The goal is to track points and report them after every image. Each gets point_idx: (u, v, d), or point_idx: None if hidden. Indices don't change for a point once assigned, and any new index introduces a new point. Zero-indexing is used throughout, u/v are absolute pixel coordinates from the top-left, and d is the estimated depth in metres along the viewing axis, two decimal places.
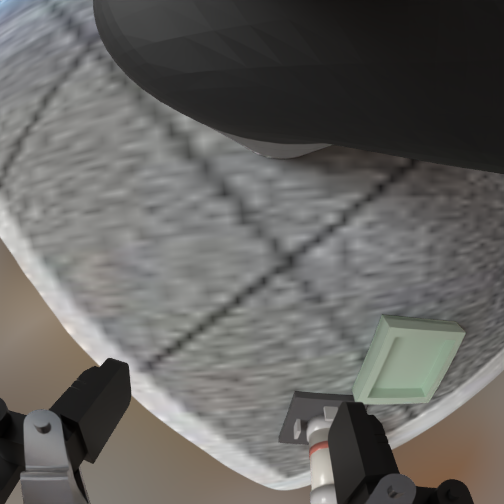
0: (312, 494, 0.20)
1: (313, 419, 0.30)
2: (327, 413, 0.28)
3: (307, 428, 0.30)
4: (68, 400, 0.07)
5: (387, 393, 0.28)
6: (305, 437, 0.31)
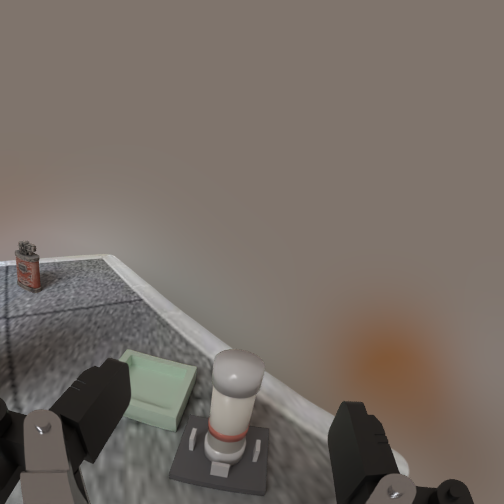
0: (228, 391, 0.20)
1: (208, 457, 0.23)
2: None
3: (220, 460, 0.23)
4: (68, 400, 0.07)
5: None
6: (250, 465, 0.23)
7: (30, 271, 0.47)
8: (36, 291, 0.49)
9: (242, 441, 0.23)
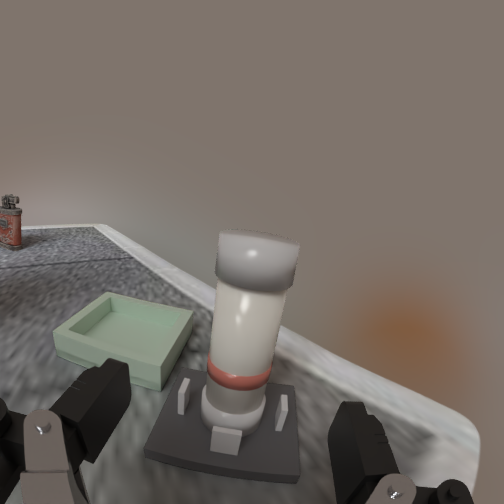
0: (244, 277, 0.13)
1: (207, 424, 0.16)
2: None
3: (226, 427, 0.15)
4: (68, 400, 0.07)
5: None
6: (273, 436, 0.16)
7: (11, 226, 0.40)
8: (16, 249, 0.41)
9: (261, 392, 0.16)
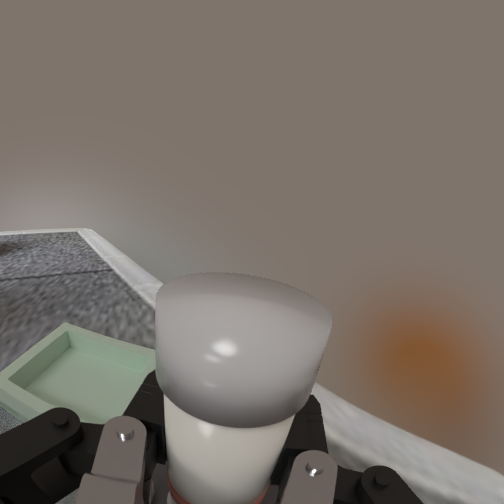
0: (205, 404, 0.05)
1: None
2: None
3: None
4: (140, 404, 0.08)
5: None
6: None
7: None
8: None
9: None
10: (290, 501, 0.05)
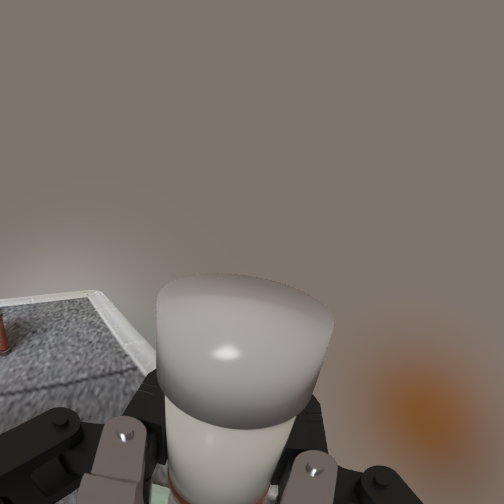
0: (206, 406, 0.05)
1: None
2: None
3: None
4: (140, 404, 0.08)
5: None
6: None
7: None
8: (4, 354, 0.32)
9: None
10: (290, 501, 0.05)
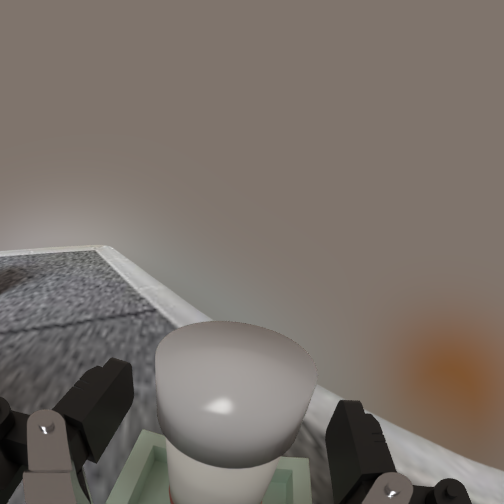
0: (202, 451, 0.05)
1: None
2: None
3: None
4: (71, 400, 0.07)
5: None
6: None
7: None
8: None
9: None
10: None
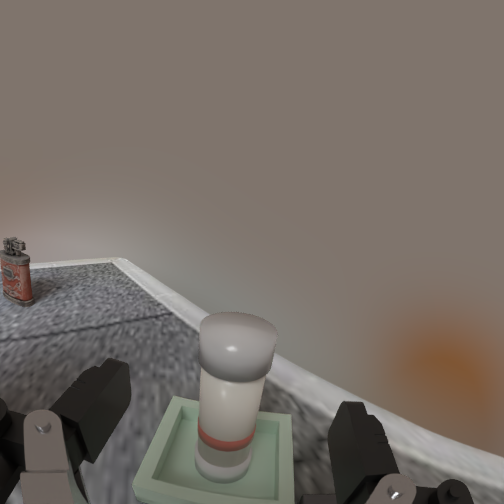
0: (222, 371, 0.13)
1: (200, 472, 0.16)
2: None
3: (216, 476, 0.15)
4: (68, 400, 0.07)
5: (276, 475, 0.16)
6: None
7: (18, 278, 0.33)
8: (27, 305, 0.35)
9: (246, 449, 0.16)
10: None
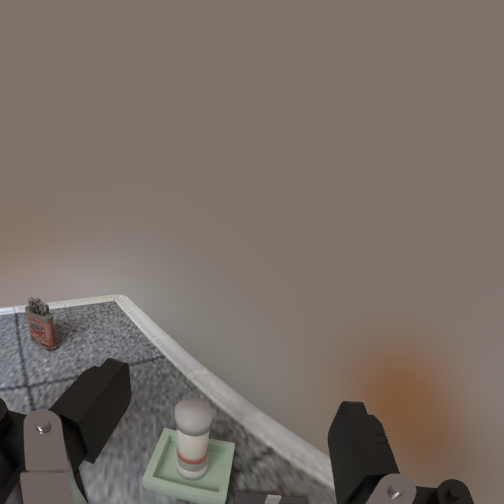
0: (185, 431, 0.25)
1: (179, 473, 0.28)
2: None
3: (187, 476, 0.28)
4: (68, 400, 0.07)
5: (221, 478, 0.28)
6: None
7: (45, 331, 0.45)
8: (52, 350, 0.46)
9: (203, 463, 0.28)
10: None
